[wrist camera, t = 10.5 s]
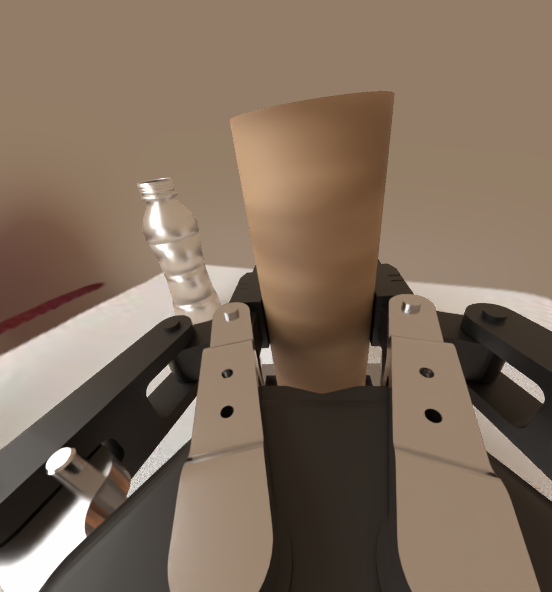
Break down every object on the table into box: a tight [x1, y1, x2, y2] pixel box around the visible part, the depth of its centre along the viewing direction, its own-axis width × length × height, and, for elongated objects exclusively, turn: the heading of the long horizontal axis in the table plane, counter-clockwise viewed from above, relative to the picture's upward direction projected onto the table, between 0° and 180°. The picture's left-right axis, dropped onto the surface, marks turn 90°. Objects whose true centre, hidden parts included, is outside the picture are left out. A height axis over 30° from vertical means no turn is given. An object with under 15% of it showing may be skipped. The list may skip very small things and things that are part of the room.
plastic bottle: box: [137, 178, 221, 325], centre depth 33 cm, size 6×7×20 cm
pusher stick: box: [230, 91, 394, 394], centre depth 10 cm, size 4×4×14 cm
